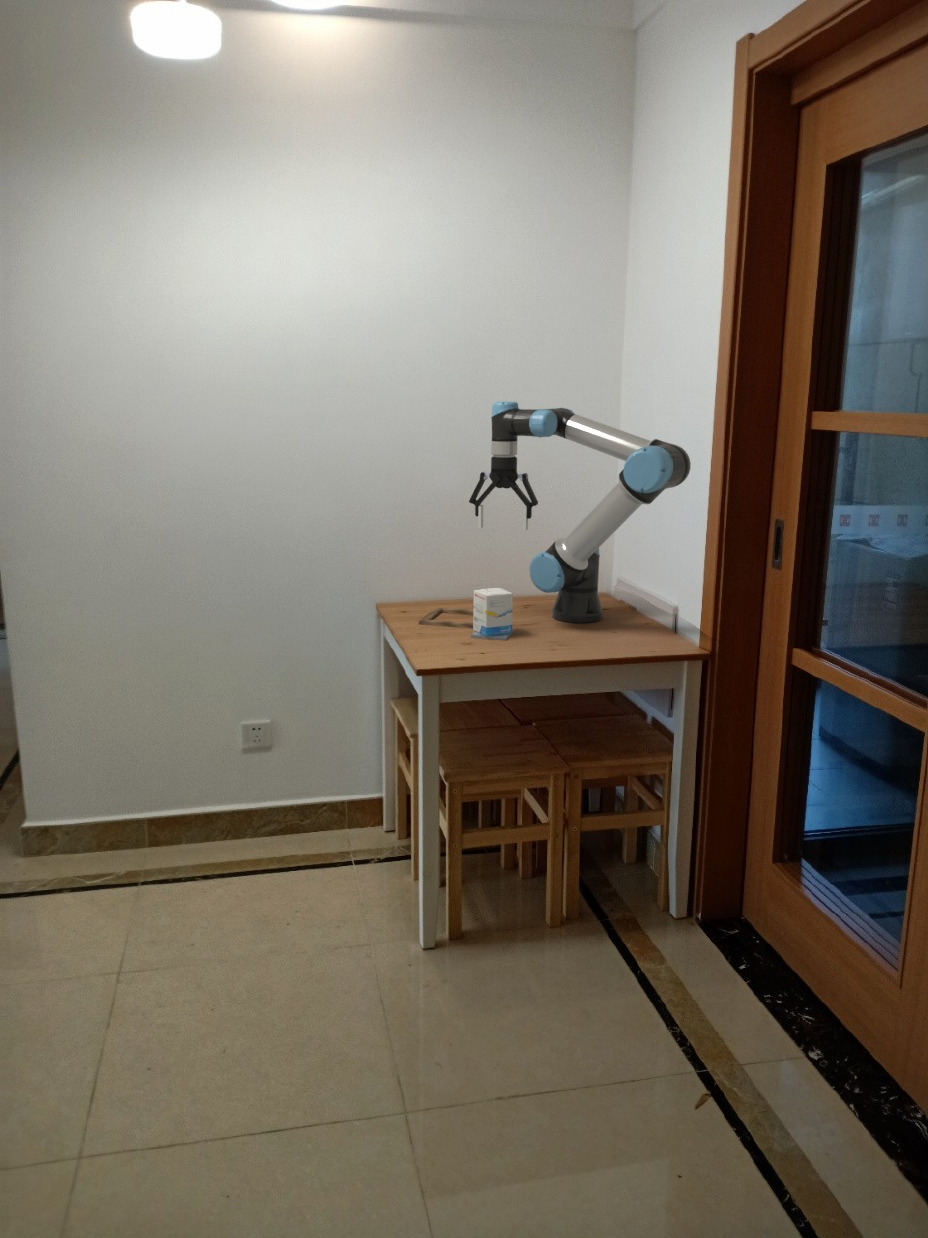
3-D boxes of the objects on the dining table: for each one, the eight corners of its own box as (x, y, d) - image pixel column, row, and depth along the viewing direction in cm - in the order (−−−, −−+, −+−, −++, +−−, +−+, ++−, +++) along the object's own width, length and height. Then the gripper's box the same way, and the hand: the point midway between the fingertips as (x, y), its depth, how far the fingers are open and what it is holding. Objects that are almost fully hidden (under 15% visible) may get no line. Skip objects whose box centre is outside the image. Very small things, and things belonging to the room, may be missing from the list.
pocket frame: (493, 614, 308) (493, 611, 308) (478, 628, 291) (478, 625, 291) (436, 610, 312) (436, 607, 312) (418, 624, 296) (418, 620, 295)
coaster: (514, 631, 288) (514, 628, 288) (506, 640, 278) (506, 637, 278) (479, 629, 290) (479, 626, 290) (470, 637, 281) (470, 634, 281)
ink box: (513, 633, 282) (514, 592, 279) (485, 636, 279) (486, 595, 276) (499, 626, 290) (499, 586, 287) (472, 629, 286) (472, 589, 284)
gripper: (549, 456, 294) (547, 528, 299) (466, 453, 301) (465, 524, 306) (544, 458, 287) (542, 532, 292) (459, 455, 294) (458, 528, 299)
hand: (503, 528), depth 299 cm, fingers open, 13 cm apart
